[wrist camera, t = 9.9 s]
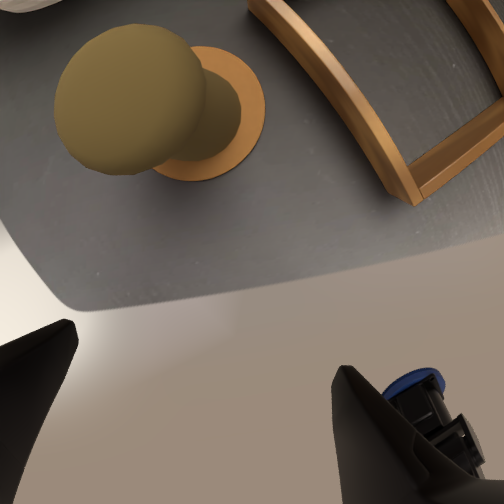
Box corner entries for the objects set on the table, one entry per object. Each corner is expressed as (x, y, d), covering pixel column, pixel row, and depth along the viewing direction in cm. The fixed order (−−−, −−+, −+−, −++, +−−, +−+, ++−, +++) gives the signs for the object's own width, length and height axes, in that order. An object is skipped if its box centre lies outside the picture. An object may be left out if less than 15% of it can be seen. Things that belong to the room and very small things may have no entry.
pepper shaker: (251, 77, 15) (232, -2, 5) (230, 169, 18) (184, 216, 7) (158, 66, 15) (51, 12, 5) (141, 154, 17) (21, 186, 7)
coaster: (294, 123, 17) (295, 123, 16) (183, 207, 19) (182, 208, 19) (207, 23, 14) (206, 21, 14) (106, 111, 17) (104, 111, 16)
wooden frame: (510, 101, 14) (541, 102, 10) (387, 193, 18) (414, 207, 14) (404, -53, 10) (423, -73, 6) (247, 8, 14) (243, -19, 10)
